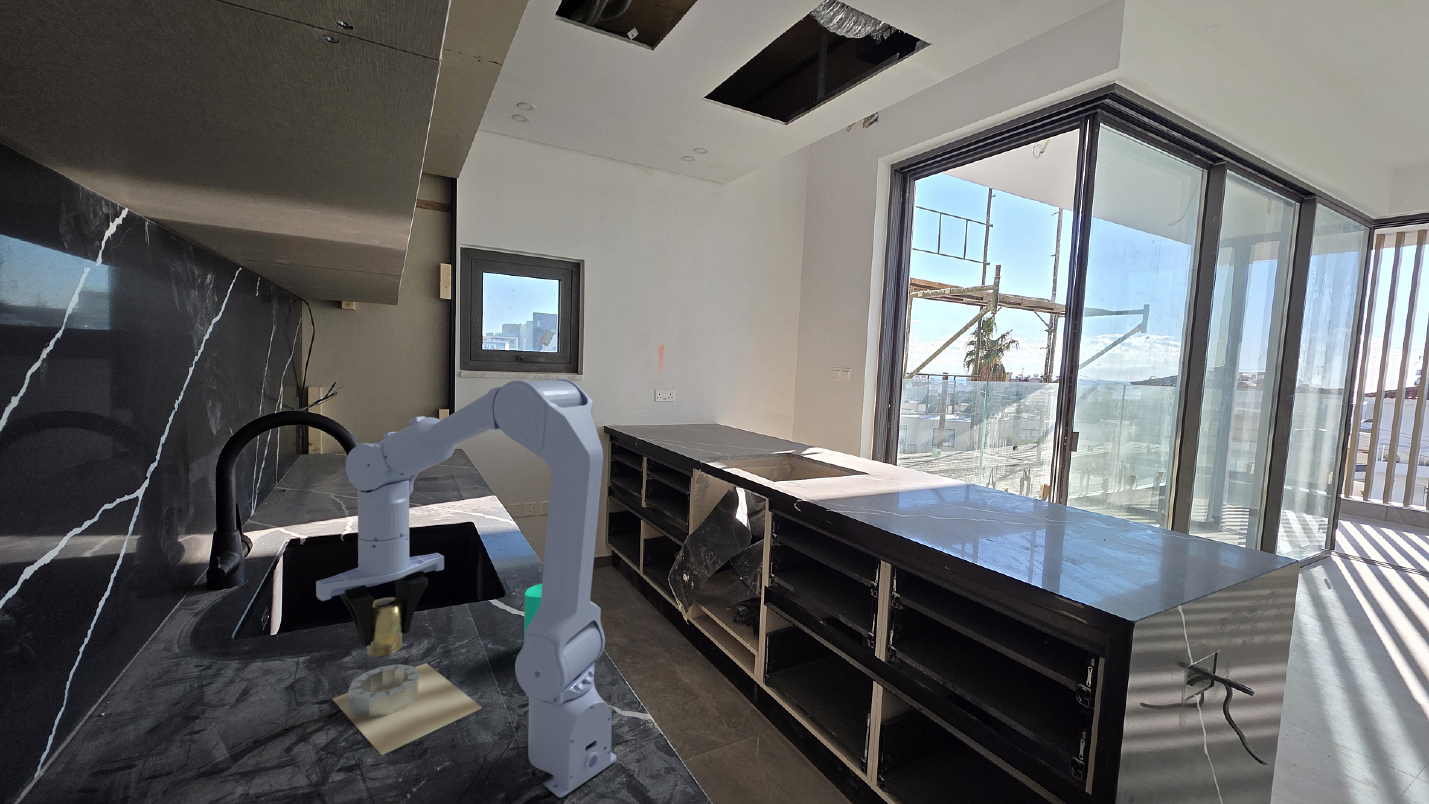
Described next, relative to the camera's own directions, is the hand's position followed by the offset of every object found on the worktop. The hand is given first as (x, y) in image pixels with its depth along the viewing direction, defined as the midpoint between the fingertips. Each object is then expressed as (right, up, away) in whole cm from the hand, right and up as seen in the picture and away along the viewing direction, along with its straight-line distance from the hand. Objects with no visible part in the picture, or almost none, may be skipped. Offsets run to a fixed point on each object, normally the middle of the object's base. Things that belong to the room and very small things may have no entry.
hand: (384, 636), depth 74 cm
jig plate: (+3, -10, 0) cm, 10 cm away
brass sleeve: (0, -2, 0) cm, 2 cm away
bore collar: (0, -9, +1) cm, 9 cm away
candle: (+16, -9, +15) cm, 24 cm away
